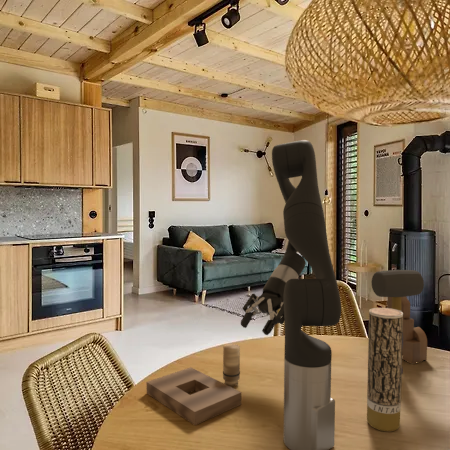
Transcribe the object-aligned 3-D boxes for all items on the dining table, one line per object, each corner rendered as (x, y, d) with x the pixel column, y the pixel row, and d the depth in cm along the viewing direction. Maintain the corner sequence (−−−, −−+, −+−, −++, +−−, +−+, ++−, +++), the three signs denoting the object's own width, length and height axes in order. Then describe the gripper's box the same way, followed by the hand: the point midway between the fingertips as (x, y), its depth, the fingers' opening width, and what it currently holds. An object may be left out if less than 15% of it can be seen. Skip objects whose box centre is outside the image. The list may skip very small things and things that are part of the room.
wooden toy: (428, 361, 127) (430, 280, 125) (412, 364, 124) (414, 281, 122) (389, 345, 141) (390, 272, 139) (374, 347, 138) (375, 273, 136)
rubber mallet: (406, 369, 120) (409, 267, 118) (423, 380, 113) (426, 271, 111) (367, 373, 117) (369, 268, 116) (382, 384, 110) (385, 272, 108)
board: (241, 404, 99) (241, 392, 99) (194, 425, 90) (194, 411, 90) (190, 377, 114) (190, 367, 114) (146, 393, 105) (146, 381, 104)
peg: (243, 383, 110) (243, 347, 110) (230, 389, 107) (231, 351, 107) (231, 378, 114) (232, 342, 113) (219, 383, 111) (219, 346, 110)
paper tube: (361, 417, 93) (364, 307, 92) (390, 416, 94) (393, 307, 92) (374, 433, 87) (377, 316, 85) (406, 432, 87) (409, 315, 86)
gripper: (257, 272, 126) (229, 316, 119) (294, 279, 115) (265, 328, 108) (269, 287, 129) (242, 331, 122) (305, 295, 119) (279, 343, 112)
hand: (253, 329), depth 115 cm, fingers open, 8 cm apart
